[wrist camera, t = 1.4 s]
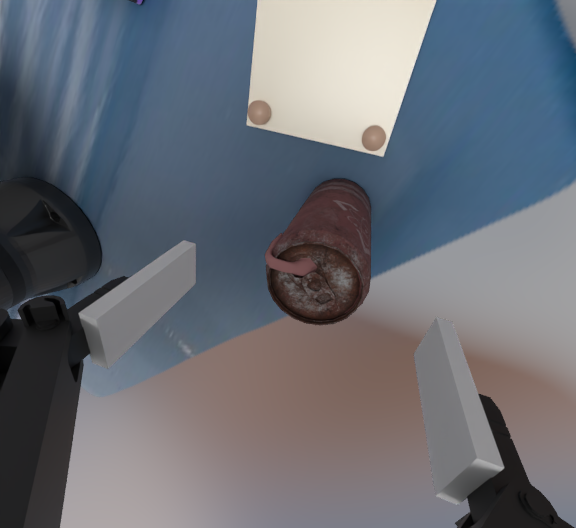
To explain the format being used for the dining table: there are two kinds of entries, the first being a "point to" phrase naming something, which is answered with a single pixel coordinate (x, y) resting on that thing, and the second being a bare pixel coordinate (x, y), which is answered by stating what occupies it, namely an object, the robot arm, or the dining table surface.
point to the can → (323, 255)
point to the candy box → (137, 1)
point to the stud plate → (334, 68)
